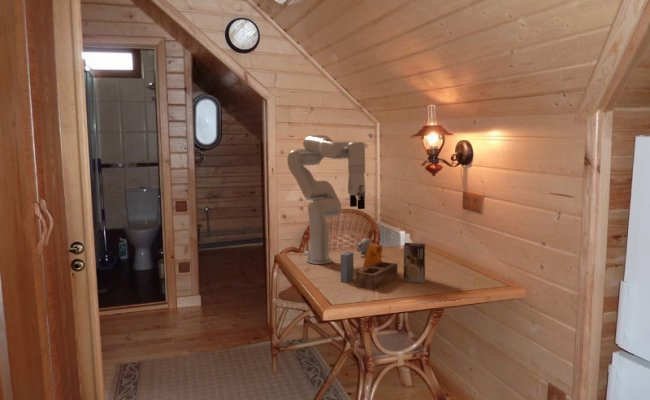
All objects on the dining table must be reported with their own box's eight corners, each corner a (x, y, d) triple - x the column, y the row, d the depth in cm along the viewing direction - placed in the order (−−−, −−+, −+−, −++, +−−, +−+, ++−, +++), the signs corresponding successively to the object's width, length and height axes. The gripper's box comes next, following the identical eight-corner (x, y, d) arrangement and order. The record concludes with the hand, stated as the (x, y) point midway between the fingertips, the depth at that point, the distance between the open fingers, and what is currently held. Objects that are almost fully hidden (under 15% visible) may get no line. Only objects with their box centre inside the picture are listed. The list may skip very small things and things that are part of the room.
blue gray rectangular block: (340, 281, 218) (340, 254, 217) (347, 278, 223) (347, 251, 222) (346, 282, 217) (346, 255, 215) (353, 279, 222) (353, 252, 220)
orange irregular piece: (375, 273, 232) (375, 247, 231) (363, 270, 237) (363, 245, 236) (390, 268, 240) (390, 243, 238) (378, 265, 245) (378, 241, 243)
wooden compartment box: (356, 286, 212) (356, 272, 211) (379, 273, 230) (379, 261, 229) (375, 289, 207) (375, 275, 206) (397, 276, 225) (397, 263, 225)
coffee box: (425, 279, 222) (426, 243, 220) (424, 283, 216) (425, 246, 214) (404, 277, 224) (405, 242, 222) (402, 281, 218) (403, 245, 216)
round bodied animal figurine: (351, 255, 266) (351, 239, 265) (365, 251, 274) (366, 236, 273) (361, 257, 261) (361, 241, 260) (376, 253, 269) (376, 238, 268)
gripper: (342, 169, 232) (343, 206, 234) (355, 170, 216) (356, 210, 217) (357, 168, 234) (358, 205, 236) (371, 170, 218) (372, 209, 220)
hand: (357, 207), depth 227 cm, fingers open, 9 cm apart
